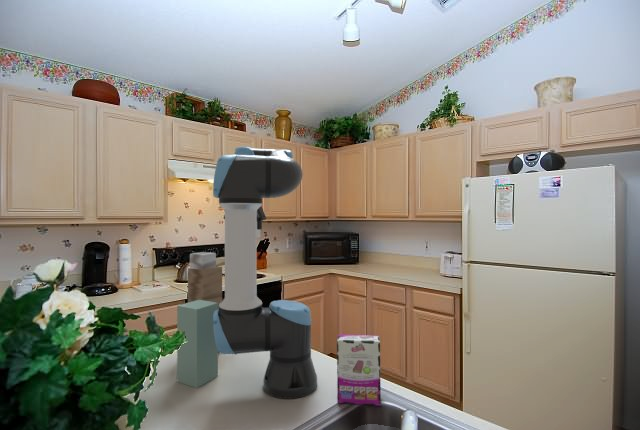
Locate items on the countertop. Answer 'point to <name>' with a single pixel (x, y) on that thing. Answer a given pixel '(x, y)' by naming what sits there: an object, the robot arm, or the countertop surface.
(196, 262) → the meat mallet
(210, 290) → the walnut pillar
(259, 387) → the countertop surface
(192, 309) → the sage block
